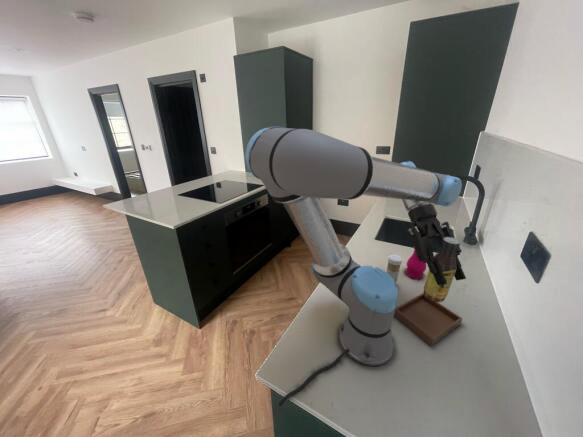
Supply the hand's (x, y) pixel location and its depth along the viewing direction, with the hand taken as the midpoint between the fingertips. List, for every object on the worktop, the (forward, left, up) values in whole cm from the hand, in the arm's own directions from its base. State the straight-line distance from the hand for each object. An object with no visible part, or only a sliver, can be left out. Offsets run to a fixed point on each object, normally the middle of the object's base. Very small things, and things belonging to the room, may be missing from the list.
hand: (451, 281), depth 65 cm
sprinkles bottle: (+4, +21, -19) cm, 28 cm away
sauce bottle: (+1, +4, -9) cm, 9 cm away
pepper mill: (+19, +21, -19) cm, 33 cm away
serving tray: (+1, +4, -19) cm, 19 cm away
